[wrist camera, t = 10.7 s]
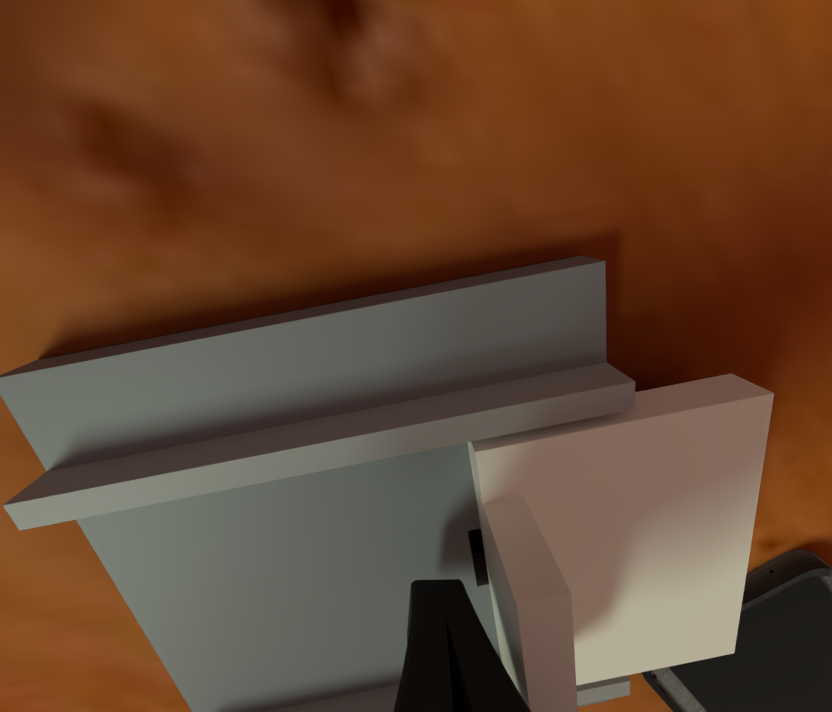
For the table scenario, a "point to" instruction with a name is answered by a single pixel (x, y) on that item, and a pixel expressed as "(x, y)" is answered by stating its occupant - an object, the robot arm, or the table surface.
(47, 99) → the table surface
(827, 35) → the table surface
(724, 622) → the cover
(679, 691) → the phone
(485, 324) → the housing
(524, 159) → the table surface
